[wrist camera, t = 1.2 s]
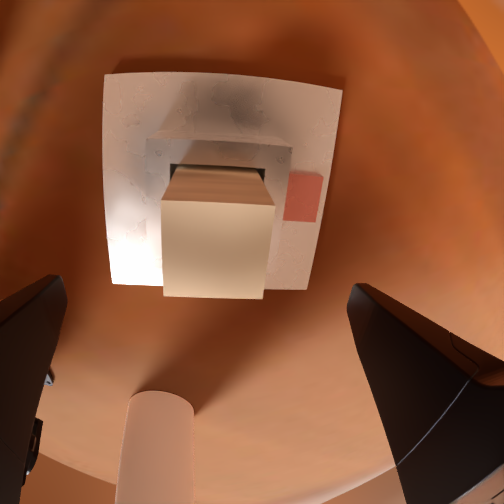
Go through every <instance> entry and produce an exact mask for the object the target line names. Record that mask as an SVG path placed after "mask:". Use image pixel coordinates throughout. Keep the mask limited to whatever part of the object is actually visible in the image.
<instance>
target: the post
mask: <svg viewBox="0 0 504 504" xmlns="http://www.w3.org/2000/svg"><path fill="white" fill-rule="evenodd" d="M275 207H276V206H275V204H274V202H273V200H272V198H271V196H270V194H269V192H268V190H267V189H266V187H265V185H264V183H263V181H262V179H261V177H260V175H259V174H258V172H257V170H256V168H251V167H237V166H220V165H199V164H179V165H178V167H177V169H176V171H175V172H174V174H173V176H172V178H171V180H170V182H169V185H168V187H167V189H166V191H165V193H164V195H163V197H162V199H161V246H162V272H163V291H164V296H175V297H200V298H234V299H263V292H264V285H265V278H266V271H267V264H268V257H269V250H270V243H271V236H272V228H273V221H274V214H275Z"/></svg>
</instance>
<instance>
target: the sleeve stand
mask: <svg viewBox="0 0 504 504" xmlns="http://www.w3.org/2000/svg"><path fill="white" fill-rule="evenodd" d="M342 92H343V90H338V89H334V88H329V87H323V86H318V85H312V84H307V83H301V82H294V81H287V80H280V79H273V78H264V77H255V76H245V75H234V74H219V73H198V72H142V73H121V74H107V75H105V77H104V93H103V120H102V160H103V188H104V205H105V218H106V230H107V240H108V249H109V258H110V266H111V273H112V280H113V283H119V284H137V285H156V286H163V272H162V246H161V199H162V197H163V195H164V193H165V191H166V189H167V187H168V185H169V182H170V180H171V178H172V176H173V174H174V172H175V171H176V169H177V167H178V165H179V164H199V165H220V166H237V167H251V168H256V170H257V172H258V174H259V175H260V177H261V179H262V181H263V183H264V185H265V187H266V189H267V190H268V192H269V194H270V196H271V198H272V200H273V202H274V204H275V206H276V207H275V214H274V221H273V228H272V236H271V243H270V250H269V257H268V264H267V271H266V278H265V285H264V289H289V290H307V286H308V282H309V277H310V273H311V268H312V264H313V259H314V254H315V249H316V245H317V240H318V235H319V230H320V225H321V220H322V215H323V209H324V204H325V199H326V193H327V188H328V182H329V176H330V171H331V165H332V159H333V153H334V147H335V140H336V134H337V127H338V120H339V113H340V106H341V99H342Z"/></svg>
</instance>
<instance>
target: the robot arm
mask: <svg viewBox="0 0 504 504" xmlns="http://www.w3.org/2000/svg"><path fill="white" fill-rule="evenodd" d="M66 307H67V295H66V291H65V287H64V283H63V279H62V277H61V276H60V275H47V276H46V277H44V278H42V279H40V280H38V281H36V282H34V283H33V284H31V285H29V286H27V287H25V288H24V289H22V290H20V291H18V292H16V293H15V294H13V295H11V296H9V297H8V298H6V299H4V300H3V301H1V302H0V504H19V502H20V494H21V487H22V486H23V485H24V484H25V480H26V475H27V474H29V473H30V472H31V470H32V469H33V467H34V465H35V462H36V460H37V456H38V452H39V444H40V438H41V431H42V425H43V421H42V420H40V419H39V418H38V419H37V418H36V417H35V416H36V412H37V408H38V404H39V401H40V397H41V393H42V390H43V387H44V385H49V386H52V385H53V382H54V381H53V379H52V377H51V375H50V372H49V367H50V364H51V361H52V358H53V355H54V352H55V349H56V346H57V342H58V339H59V334H60V330H61V326H62V322H63V318H64V315H65V311H66ZM347 314H348V318H349V321H350V325H351V329H352V333H353V337H354V341H355V345H356V349H357V352H358V355H359V358H360V360H361V363H362V366H363V369H364V371H365V374H366V377H367V380H368V383H369V385H370V388H371V391H372V394H373V397H374V400H375V403H376V406H377V408H378V411H379V414H380V417H381V420H382V423H383V426H384V430H385V433H386V436H387V439H388V442H389V445H390V448H391V451H392V455H393V458H394V461H395V465H396V466H397V467H396V469H397V472H398V475H399V479H400V482H401V485H402V489H403V493H404V496H405V500H406V503H407V504H504V361H502V360H500V359H498V358H497V357H495V356H493V355H491V354H489V353H487V352H485V351H483V350H481V349H479V348H478V347H476V346H474V345H472V344H470V343H469V342H467V341H465V340H463V339H462V338H460V337H458V336H456V335H455V334H453V333H451V332H449V331H448V330H446V329H445V328H443V327H441V326H440V325H438V324H436V323H435V322H433V321H431V320H429V319H428V318H426V317H424V316H423V315H421V314H419V313H417V312H416V311H414V310H412V309H411V308H409V307H407V306H405V305H404V304H402V303H400V302H399V301H397V300H395V299H393V298H392V297H390V296H388V295H386V294H385V293H383V292H381V291H379V290H378V289H376V288H374V287H372V286H371V285H369V284H367V283H356V284H354V285H353V287H352V290H351V294H350V297H349V300H348V303H347Z"/></svg>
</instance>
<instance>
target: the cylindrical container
mask: <svg viewBox="0 0 504 504" xmlns="http://www.w3.org/2000/svg"><path fill="white" fill-rule="evenodd" d="M115 504H195V479H194V409H193V407H192V405H191V404H190V403H189V402H188V401H186V400H185V399H183V398H182V397H180V396H177V395H175V394H172V393H168V392H163V391H144V392H140V393H137V394H135V395H134V396H132V397H131V399H130V400H129V404H128V409H127V415H126V421H125V427H124V434H123V440H122V447H121V454H120V462H119V470H118V479H117V488H116V498H115Z"/></svg>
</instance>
